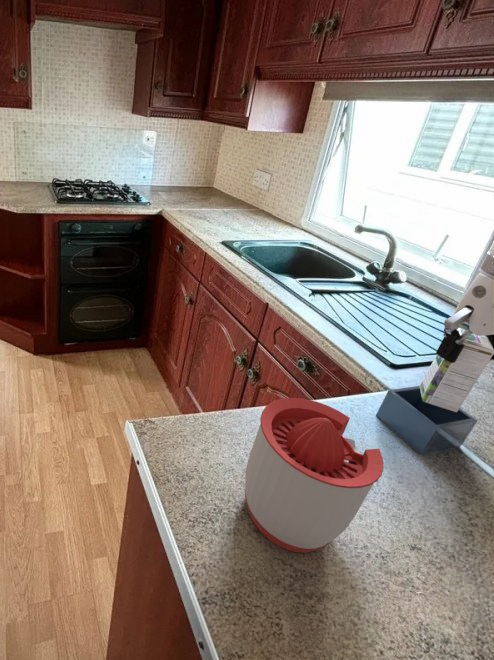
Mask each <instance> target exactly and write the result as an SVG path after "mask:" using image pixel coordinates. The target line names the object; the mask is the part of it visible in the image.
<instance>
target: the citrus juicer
mask: <svg viewBox="0 0 494 660" xmlns="http://www.w3.org/2000/svg"><path fill="white" fill-rule="evenodd" d="M259 418H260V423H259V427H258V430H257V433H256V436H255V439H254V441H253V443H252V446H251V450H250V452H249V457H248V460H247V464H246V466H245V477H244V481H245V482H244V498H245V502H246V506H247V507H246V508H247V510H248V511H247V512H248V514H249V516H250V519H251V520H252V522H253V524H254V525H255V527H256V528H257V530H259V531H260V533H261V534H262V535H263V536H264V537H266V539H268V540H269V541H271V542H272V543H273V544H275V545H276V546H278V547H281V548H283V550H284V549H285V550H287V551H291V552H295V553H299V554H302V553H310V552H314V551H317V550H320V549H323V548H325V547H326V546H328V545H329V544H330V543H331V542H332V541H334V540H335V539H337V538H338V537H340V536H341V534H343V533H344V532H345V531H346V529H348V527H349V525H350V524H351V523H352V521H353V520H354V519H355V517H356V515H357V514H358V512H359V510H360V508H361V507H362V505H363V503H364V501H365V500H366V497H368V494H369V492H370V491H371V489H372V487H373V485H374V484H375V483H376V482H378V481H379V479H380V478H381V477H382V475H383V471H384V467H385V466H384V457H383V455H382V452H381V450H380V448H369V449H367V448H366V449H365V450H364V452H361V451H360V449H359V448H358V447H357V446H356V441H355V440H354V439H353V438H351V437H350V438H349V437H344V436H343V435H344V434H345V431H346V428H347V426H348V424H349V421H350V419H351V417H349V416H348V415H347V414H344V413H343V412H341V411H340V410H338V409H335V408H333V407H332V406H329V405H327V404H325V403H322V402H320V401H316V400H311V399H308V398H302V397H283V398H279V399H276V400H273V401H271V402H270V403H268V404H267V405H266V406H265V408H264V409H263V410H262V411H261V414H260V417H259Z"/></svg>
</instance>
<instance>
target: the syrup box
mask: <svg viewBox="0 0 494 660" xmlns="http://www.w3.org/2000/svg"><path fill="white" fill-rule="evenodd" d="M457 330H458V331H459V334H460V336H461V335H462V334H463V333H464V332H465V331H464V330H462V329H461V328H458V329H457ZM462 344H464V345H465V346H464V347H463V349H462V351H461V353H460V355H459V356H458V358H457V360H456V362H455V363H450V362H448V361H447V360H445V359H444V358H442V357H440V356H439V355H437V354H436V356H434V359H433V361H432V362H431V364H430V366H429V367H428V370H427V372H426V373H425V375H424V377H423V378H422V381H421V383H420V384H419V386H420V391H421V396H422V401H423V402H426V403H429V404H432V405H435V406H438V407H441V408H444V409H447V410H451V411H454V412H457V411H458V410H459V408H460V409H461V407H462V405H463V403H464V402H465V400H466V398H467V397H468V396H469V394H470V392H471V391H472V389H473V388H474V386H475V384H476V383H477V381H478V379H479V378H480V377H481V375H482V373H483V372H484V370H485V369H486V367H487V365H488V364H489V362H490V360H491V359H492V357H493V355H494V349H493V347H492V345H491V343H490V341H489V339H488V337H486V336H477V335H475V334H472V335H470V336H469V337H468V338H467V339H466V340H465V341H464V342H463V343H462Z"/></svg>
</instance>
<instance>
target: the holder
mask: <svg viewBox="0 0 494 660" xmlns="http://www.w3.org/2000/svg"><path fill="white" fill-rule="evenodd" d="M375 417H377V418H378V419H379V420H380V421H381V422H382V423H384V424H385V426H387V427H388V428H389V429H390V430H391V431H392V432H394V433H395V434H396V435H397V436H399V438H400V439H402V440H403V441H404V442H405V443H406V444H407V445H408V446H409V447H410V448H412V449H413V450H414V451H415V452H416V453H417V454H418V455H420V456H424V455H428V454H429V455H430V454H433V453H439V452H443V451H448V450H452V449H453V450H454V449H458V448H461V447H462V445H463V444H464V442H465V441H466V439H467V438H468V436H469V435H470V433H471V432H472V430H474V427H475V426H476V424H477V423H478V420H477V419H476V418H475V417H473V416H472V415H470V414H469V413H468V412H467V411H464V410H463V409H462V408H461V407H460V408H459V410H458V411H457V412H454V411H451V410H447V409H444V408H441V407H438V406H435V405H432V404H429V403H426V402H423V401H422V396H421V391H420V385H414V386H408V387H400V388H392V389H388V391H387V393H386V394H385V396H384V398H383V401H382V402H381V404H380V406H379V408H378V410H377V412H376V414H375Z"/></svg>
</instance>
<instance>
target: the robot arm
mask: <svg viewBox="0 0 494 660" xmlns="http://www.w3.org/2000/svg"><path fill="white" fill-rule="evenodd" d="M478 272H479V273H478V274H477V275H476V277H475V278H474V279H473V280H472V282H471V284H470V285H469V286H468V288H467V289H466V291H465V292H464V294H463V295H462V297H461V299H460V301H459V302H458V304H457V306H456V307H455V310H454V312H453V314H452V315H451V316H449V317H448V318H447V319H446V318H445V320H444V325H443V326H444V329H443V332H444V333H443V338H442V341H441V342H440V344H439V346H438V347H437V350H436V351H435V353H436V355H439V356H440V357H442V358H444V359H445V360H447V361H448V362H450V363H455V362H456V360H457V358H458V356H459V355H460V353H461V351H462V349H463V347H464V346H465V345H464V344H462V343H463V342H464V341H465V340H466V339H467V338H468V337H469V336H470V335H472V334H475V335H477V336H486V337H488V339H489V341H490V343H491V345H492V347H493V349H494V241H492V244H491V245H490V247H489V249H488V251H487V253H486V255H485V257H484V259H483V261H482V263H481V264H480V267H479V268H478ZM465 324H466V325H465ZM467 325H468V326H467ZM458 328H459V329H462V330H464V331H465V332H464V333H463V334H462V335H461V336H460V334H459V331H458V330H457V329H458Z"/></svg>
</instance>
